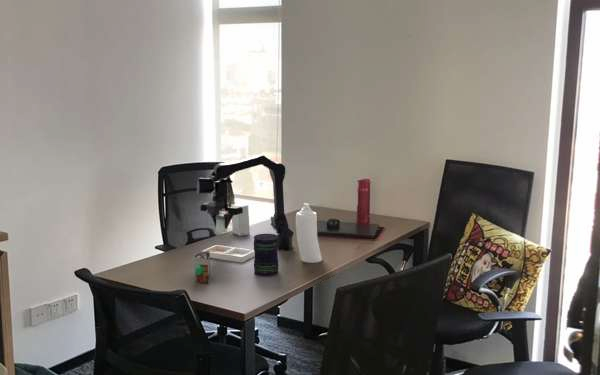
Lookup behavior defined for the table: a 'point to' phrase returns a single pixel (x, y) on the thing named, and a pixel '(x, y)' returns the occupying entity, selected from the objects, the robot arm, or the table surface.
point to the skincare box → (241, 221)
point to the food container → (202, 266)
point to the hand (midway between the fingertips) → (221, 228)
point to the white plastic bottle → (307, 235)
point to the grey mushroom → (220, 224)
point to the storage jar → (266, 255)
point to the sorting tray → (230, 253)
